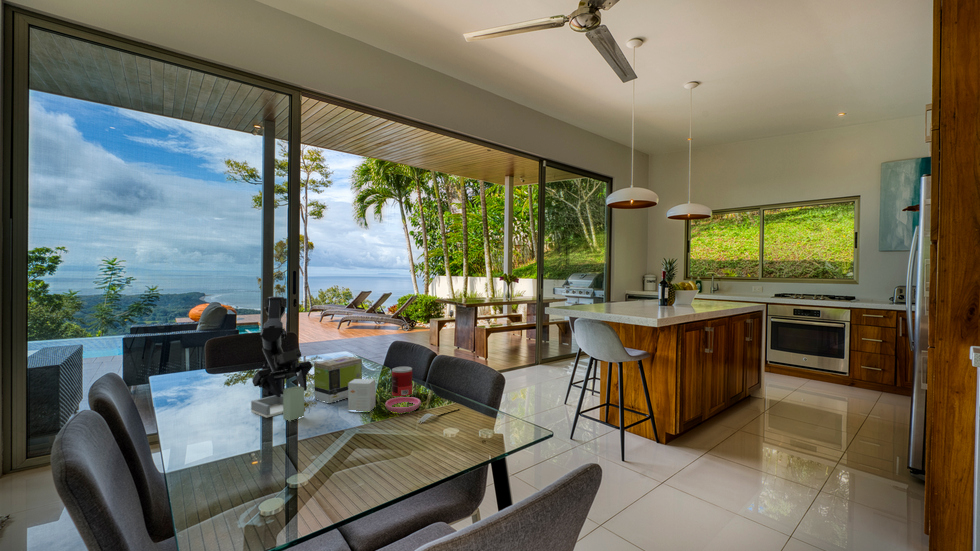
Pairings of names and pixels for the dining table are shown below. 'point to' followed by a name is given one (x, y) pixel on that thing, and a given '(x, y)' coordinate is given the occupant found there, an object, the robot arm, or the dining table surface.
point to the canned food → (401, 381)
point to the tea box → (335, 377)
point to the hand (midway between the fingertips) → (293, 393)
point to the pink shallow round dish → (400, 400)
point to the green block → (293, 403)
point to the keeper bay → (268, 406)
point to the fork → (426, 417)
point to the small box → (361, 394)
